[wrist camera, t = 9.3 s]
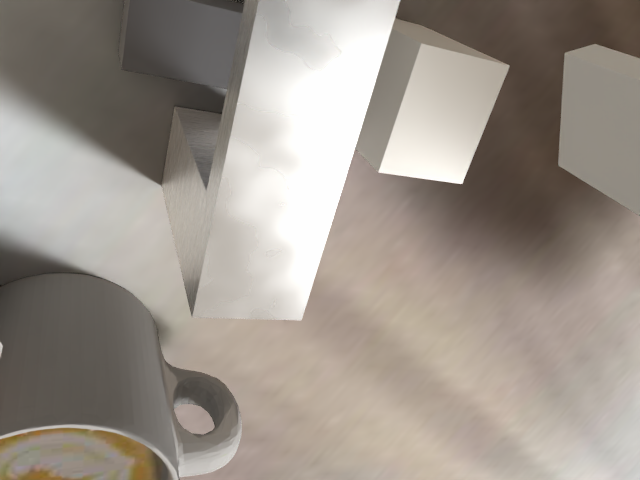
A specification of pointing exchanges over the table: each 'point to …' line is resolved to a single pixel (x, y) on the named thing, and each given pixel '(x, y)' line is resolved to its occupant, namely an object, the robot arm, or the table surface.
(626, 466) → the table surface
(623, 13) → the table surface
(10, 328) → the coffee mug
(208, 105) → the table surface
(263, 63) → the grey arch block
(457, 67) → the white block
